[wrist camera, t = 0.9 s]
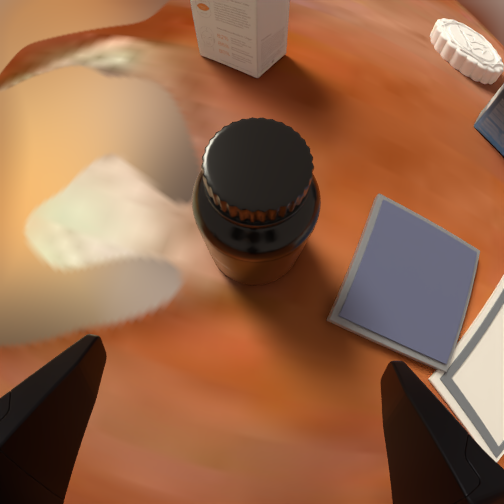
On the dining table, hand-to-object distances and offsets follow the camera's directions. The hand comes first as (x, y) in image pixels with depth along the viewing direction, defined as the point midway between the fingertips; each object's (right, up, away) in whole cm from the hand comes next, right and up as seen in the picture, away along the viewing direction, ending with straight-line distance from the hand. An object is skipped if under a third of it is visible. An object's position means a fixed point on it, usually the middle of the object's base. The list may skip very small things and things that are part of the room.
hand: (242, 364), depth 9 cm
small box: (-1, +25, +22) cm, 33 cm away
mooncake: (+31, +32, +24) cm, 51 cm away
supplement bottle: (+1, +4, +16) cm, 16 cm away
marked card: (+24, -8, +12) cm, 28 cm away
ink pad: (+13, +1, +15) cm, 20 cm away
